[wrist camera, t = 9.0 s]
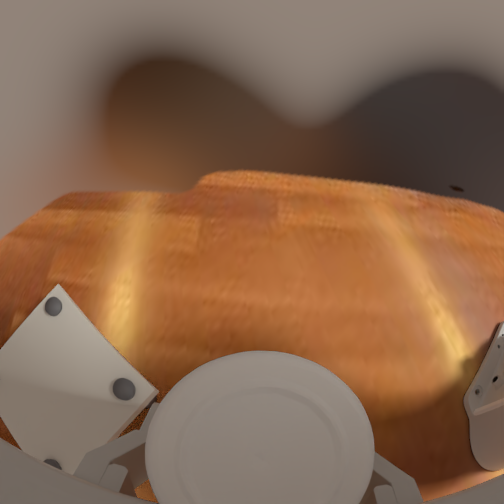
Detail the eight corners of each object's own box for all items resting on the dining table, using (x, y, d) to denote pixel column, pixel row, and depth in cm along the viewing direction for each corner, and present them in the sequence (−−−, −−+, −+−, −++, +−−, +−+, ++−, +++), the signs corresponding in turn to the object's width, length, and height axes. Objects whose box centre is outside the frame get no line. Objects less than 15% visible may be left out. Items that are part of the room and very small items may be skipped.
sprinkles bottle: (285, 403, 17) (376, 343, 6) (284, 473, 15) (378, 546, 3) (209, 401, 17) (149, 337, 6) (206, 471, 15) (137, 549, 3)
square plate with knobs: (82, 307, 34) (55, 281, 28) (171, 397, 30) (153, 388, 24) (11, 388, 27) (-24, 375, 21) (86, 487, 23) (54, 495, 17)
